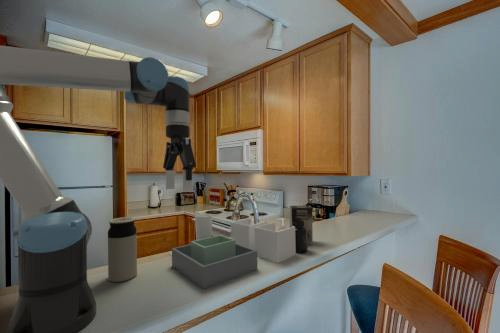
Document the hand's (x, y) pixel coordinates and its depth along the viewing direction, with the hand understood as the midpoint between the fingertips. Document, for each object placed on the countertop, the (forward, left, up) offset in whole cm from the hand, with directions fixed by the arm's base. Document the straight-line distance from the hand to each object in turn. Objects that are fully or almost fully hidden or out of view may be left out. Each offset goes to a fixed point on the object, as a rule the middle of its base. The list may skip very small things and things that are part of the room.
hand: (178, 190), depth 81 cm
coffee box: (+53, -8, -27) cm, 60 cm away
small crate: (+10, -5, -26) cm, 28 cm away
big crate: (+10, -5, -27) cm, 29 cm away
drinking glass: (+15, +10, -27) cm, 32 cm away
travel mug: (-15, +8, -27) cm, 32 cm away
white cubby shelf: (+33, -4, -27) cm, 43 cm away
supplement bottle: (+44, -14, -27) cm, 53 cm away
